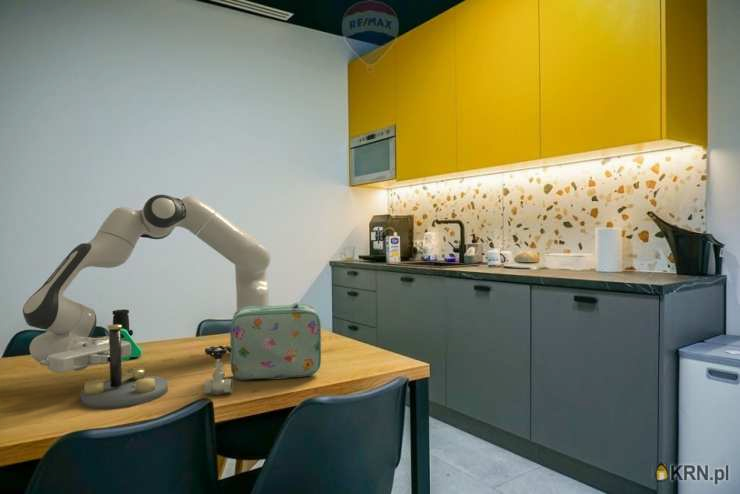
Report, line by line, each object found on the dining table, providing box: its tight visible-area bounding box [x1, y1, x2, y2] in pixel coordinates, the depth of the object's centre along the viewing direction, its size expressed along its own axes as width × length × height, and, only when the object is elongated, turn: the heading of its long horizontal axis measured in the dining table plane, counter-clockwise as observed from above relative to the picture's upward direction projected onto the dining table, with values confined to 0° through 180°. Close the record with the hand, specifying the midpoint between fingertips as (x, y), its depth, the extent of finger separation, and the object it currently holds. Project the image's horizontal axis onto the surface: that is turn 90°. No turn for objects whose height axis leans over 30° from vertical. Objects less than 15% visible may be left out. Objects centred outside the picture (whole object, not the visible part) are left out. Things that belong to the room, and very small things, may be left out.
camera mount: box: [121, 329, 143, 362], centre depth 161 cm, size 12×8×10 cm, turn 113°
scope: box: [107, 309, 134, 338], centre depth 175 cm, size 8×14×10 cm
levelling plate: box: [80, 375, 169, 410], centre depth 123 cm, size 20×20×4 cm
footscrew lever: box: [107, 324, 146, 387], centre depth 126 cm, size 12×4×16 cm, turn 171°
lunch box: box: [229, 301, 323, 381], centre depth 139 cm, size 27×10×21 cm, turn 102°
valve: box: [203, 345, 234, 396], centre depth 122 cm, size 7×7×12 cm
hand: (111, 359), depth 122 cm, fingers closed, pressing on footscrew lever
